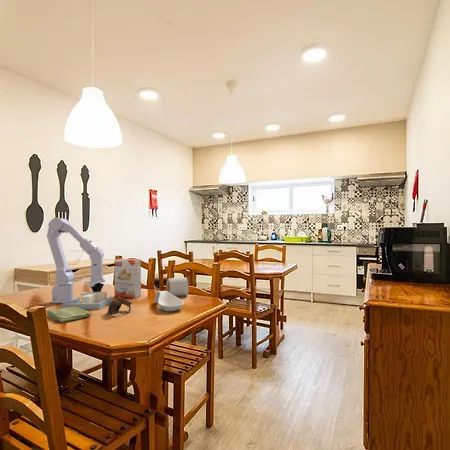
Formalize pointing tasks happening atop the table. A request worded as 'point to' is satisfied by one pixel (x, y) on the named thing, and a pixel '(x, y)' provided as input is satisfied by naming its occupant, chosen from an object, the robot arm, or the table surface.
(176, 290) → the toilet paper
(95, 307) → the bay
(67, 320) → the washcloth
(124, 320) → the table surface
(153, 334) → the table surface
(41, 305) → the table surface
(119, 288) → the cracker box
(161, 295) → the spoon rest
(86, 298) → the T-block
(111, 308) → the brown arched piece
